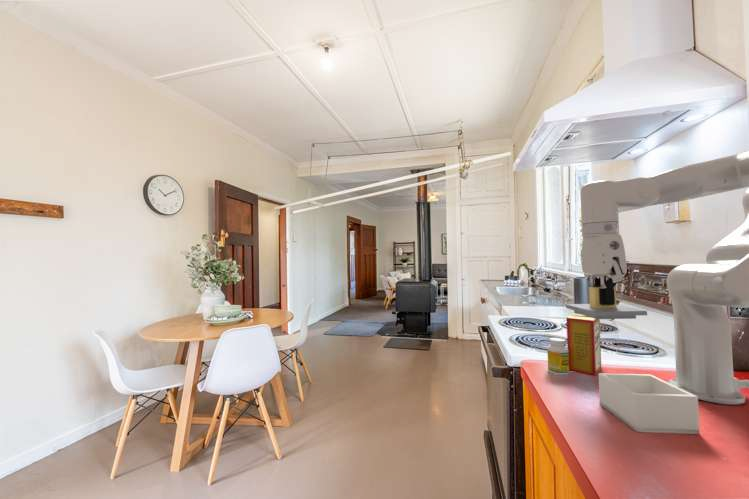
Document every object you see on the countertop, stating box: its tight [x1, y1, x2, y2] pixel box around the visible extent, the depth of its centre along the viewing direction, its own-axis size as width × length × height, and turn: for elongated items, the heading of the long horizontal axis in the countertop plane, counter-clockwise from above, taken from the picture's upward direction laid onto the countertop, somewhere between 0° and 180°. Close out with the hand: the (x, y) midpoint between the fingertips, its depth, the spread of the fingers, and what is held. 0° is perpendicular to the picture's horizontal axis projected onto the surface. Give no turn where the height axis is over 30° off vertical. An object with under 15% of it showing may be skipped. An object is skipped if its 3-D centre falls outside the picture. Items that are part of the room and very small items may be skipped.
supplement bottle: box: [547, 337, 570, 376], centre depth 88 cm, size 5×5×10 cm
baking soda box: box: [566, 312, 602, 377], centre depth 90 cm, size 10×6×16 cm
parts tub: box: [598, 372, 701, 435], centre depth 63 cm, size 11×11×7 cm
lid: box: [565, 286, 648, 320], centre depth 75 cm, size 12×12×7 cm
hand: (603, 303), depth 75 cm, fingers closed on lid
